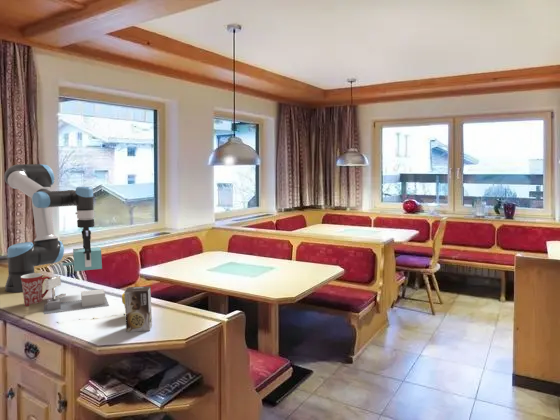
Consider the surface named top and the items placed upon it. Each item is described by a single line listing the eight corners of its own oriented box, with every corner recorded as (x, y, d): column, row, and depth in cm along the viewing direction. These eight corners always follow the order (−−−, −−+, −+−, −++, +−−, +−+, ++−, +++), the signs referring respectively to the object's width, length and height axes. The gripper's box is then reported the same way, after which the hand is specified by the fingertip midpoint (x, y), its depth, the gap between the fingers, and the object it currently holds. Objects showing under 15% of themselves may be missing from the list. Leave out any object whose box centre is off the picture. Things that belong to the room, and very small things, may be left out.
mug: (25, 308, 202) (23, 278, 201) (19, 304, 209) (18, 275, 208) (55, 302, 211) (54, 274, 210) (49, 298, 217) (47, 270, 216)
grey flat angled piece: (45, 302, 195) (44, 280, 194) (62, 295, 206) (61, 274, 205) (49, 302, 195) (48, 280, 194) (66, 295, 206) (65, 274, 205)
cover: (62, 268, 219) (61, 249, 219) (100, 264, 227) (99, 246, 226) (62, 272, 211) (61, 253, 210) (101, 268, 218) (101, 250, 217)
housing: (44, 306, 204) (43, 293, 204) (105, 299, 216) (105, 286, 215) (43, 317, 191) (43, 302, 190) (109, 308, 202) (108, 295, 202)
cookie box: (152, 325, 182) (151, 285, 180) (149, 331, 175) (148, 290, 174) (128, 326, 181) (127, 286, 179) (125, 332, 174) (124, 291, 173)
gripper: (76, 216, 226) (78, 260, 228) (78, 221, 206) (80, 270, 208) (92, 216, 229) (94, 259, 231) (95, 221, 209) (97, 268, 211)
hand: (87, 264), depth 220 cm, fingers closed on cover, 10 cm apart
